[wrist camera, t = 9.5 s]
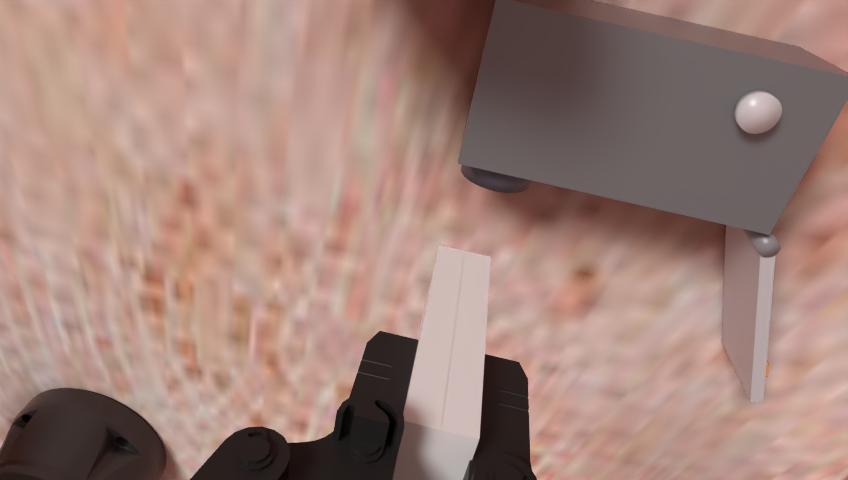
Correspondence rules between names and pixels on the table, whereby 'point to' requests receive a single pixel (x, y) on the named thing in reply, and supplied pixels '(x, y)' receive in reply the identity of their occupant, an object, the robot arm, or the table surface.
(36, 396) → the robot arm
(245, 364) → the table surface
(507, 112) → the case
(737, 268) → the door
